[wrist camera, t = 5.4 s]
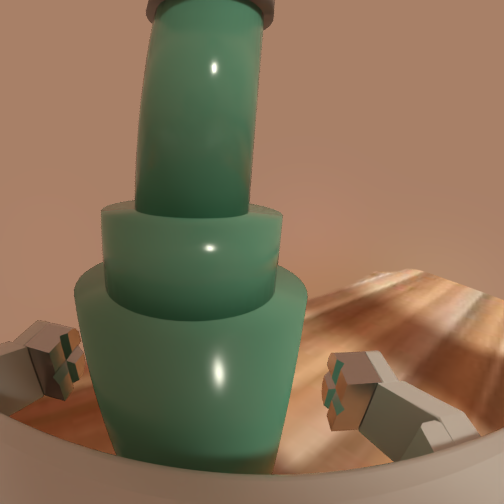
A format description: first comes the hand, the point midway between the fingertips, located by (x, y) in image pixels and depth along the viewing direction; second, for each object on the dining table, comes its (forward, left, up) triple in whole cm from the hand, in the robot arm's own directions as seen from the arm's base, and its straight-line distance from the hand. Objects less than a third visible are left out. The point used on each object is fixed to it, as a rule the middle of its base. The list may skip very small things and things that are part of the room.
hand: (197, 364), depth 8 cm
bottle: (+1, +1, -10) cm, 10 cm away
